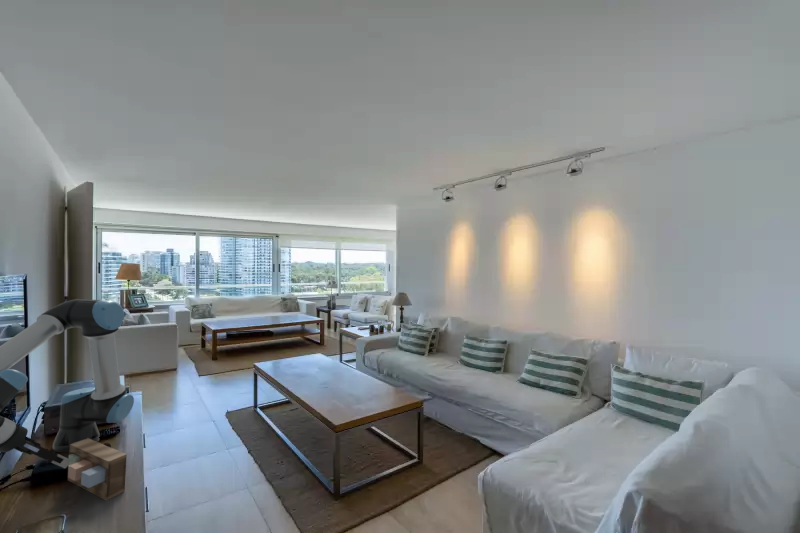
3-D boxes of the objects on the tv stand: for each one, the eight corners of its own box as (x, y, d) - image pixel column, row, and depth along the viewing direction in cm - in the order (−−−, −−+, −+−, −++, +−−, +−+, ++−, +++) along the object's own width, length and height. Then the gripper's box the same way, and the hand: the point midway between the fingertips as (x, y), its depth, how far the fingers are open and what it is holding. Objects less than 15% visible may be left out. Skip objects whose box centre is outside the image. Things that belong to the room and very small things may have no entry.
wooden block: (67, 480, 130) (69, 444, 130) (85, 472, 135) (88, 438, 135) (106, 500, 121) (108, 461, 121) (124, 491, 126) (126, 454, 126)
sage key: (68, 466, 129) (68, 455, 129) (84, 459, 133) (85, 449, 133) (74, 469, 127) (75, 458, 127) (91, 462, 131) (92, 452, 132)
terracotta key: (67, 477, 122) (68, 465, 122) (85, 470, 127) (86, 458, 127) (75, 481, 120) (75, 469, 120) (92, 473, 125) (93, 462, 125)
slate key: (80, 484, 119) (81, 472, 119) (98, 476, 124) (99, 464, 124) (88, 488, 117) (89, 475, 117) (106, 480, 122) (106, 468, 122)
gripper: (-19, 442, 112) (47, 470, 127) (1, 452, 107) (67, 480, 122) (6, 419, 117) (67, 448, 132) (26, 428, 111) (87, 457, 127)
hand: (67, 463), depth 127 cm, fingers closed
